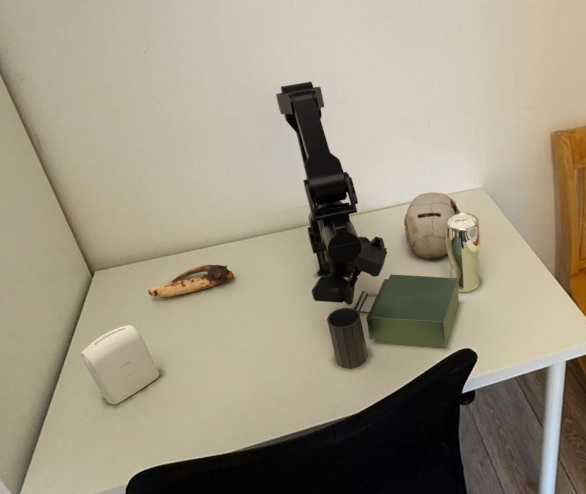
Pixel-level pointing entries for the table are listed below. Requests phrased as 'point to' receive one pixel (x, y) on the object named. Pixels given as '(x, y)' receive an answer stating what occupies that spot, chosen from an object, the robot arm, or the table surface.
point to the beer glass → (463, 249)
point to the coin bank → (428, 224)
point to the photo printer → (120, 363)
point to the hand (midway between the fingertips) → (349, 303)
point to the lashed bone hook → (193, 281)
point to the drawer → (369, 314)
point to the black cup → (347, 337)
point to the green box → (416, 311)
